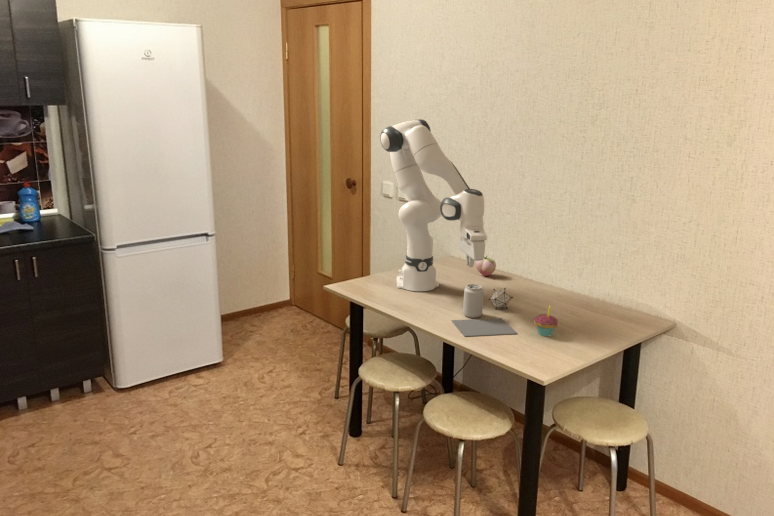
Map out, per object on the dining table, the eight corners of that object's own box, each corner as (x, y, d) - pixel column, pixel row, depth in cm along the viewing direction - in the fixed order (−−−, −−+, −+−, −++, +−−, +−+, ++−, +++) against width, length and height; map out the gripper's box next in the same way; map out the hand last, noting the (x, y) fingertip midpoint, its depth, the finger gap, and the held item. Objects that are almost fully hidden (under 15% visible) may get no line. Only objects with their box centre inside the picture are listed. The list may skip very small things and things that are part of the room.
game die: (503, 318, 263) (512, 304, 255) (483, 309, 263) (492, 294, 256) (508, 302, 268) (517, 288, 261) (489, 293, 269) (498, 279, 261)
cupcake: (561, 337, 234) (564, 305, 231) (540, 339, 232) (543, 307, 229) (549, 328, 242) (552, 297, 239) (528, 330, 240) (531, 299, 237)
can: (468, 310, 259) (470, 281, 256) (485, 315, 254) (487, 285, 251) (459, 315, 253) (460, 286, 250) (476, 320, 249) (478, 290, 245)
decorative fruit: (499, 276, 307) (500, 255, 304) (489, 279, 301) (491, 258, 298) (482, 272, 313) (483, 252, 310) (472, 275, 307) (473, 255, 304)
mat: (451, 321, 247) (451, 320, 247) (501, 318, 251) (501, 317, 251) (464, 336, 232) (464, 336, 232) (517, 334, 236) (517, 333, 236)
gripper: (455, 226, 261) (454, 260, 265) (472, 237, 242) (470, 273, 245) (470, 226, 262) (469, 259, 266) (488, 236, 243) (486, 272, 246)
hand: (470, 266), depth 255 cm, fingers closed
